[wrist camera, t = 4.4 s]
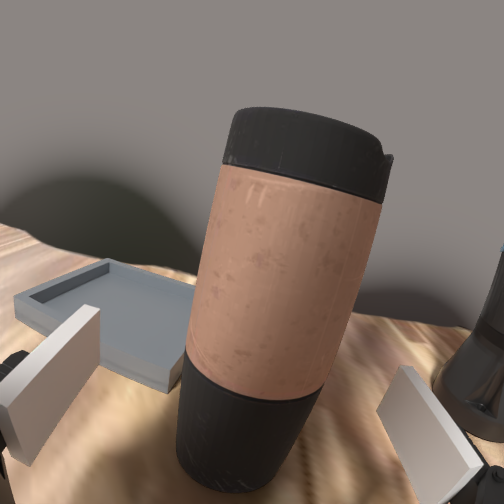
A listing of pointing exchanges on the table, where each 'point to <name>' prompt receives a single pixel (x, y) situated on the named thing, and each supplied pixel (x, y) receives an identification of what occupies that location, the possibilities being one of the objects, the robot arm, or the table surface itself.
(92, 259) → the table surface
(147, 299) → the slate tray
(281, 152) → the travel mug
